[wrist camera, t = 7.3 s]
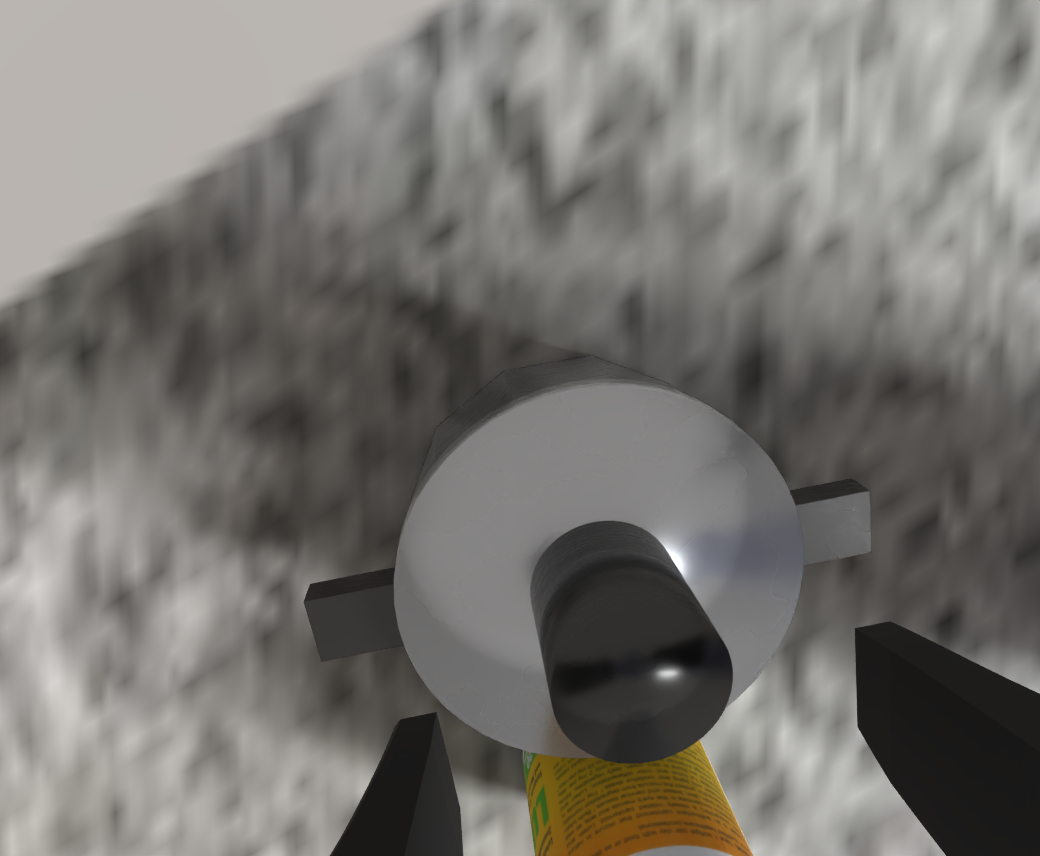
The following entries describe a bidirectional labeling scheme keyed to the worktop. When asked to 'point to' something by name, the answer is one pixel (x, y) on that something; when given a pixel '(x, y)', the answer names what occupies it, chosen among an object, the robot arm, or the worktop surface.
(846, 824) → the worktop surface
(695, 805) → the supplement bottle
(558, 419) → the lid
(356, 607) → the pot
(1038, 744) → the robot arm
